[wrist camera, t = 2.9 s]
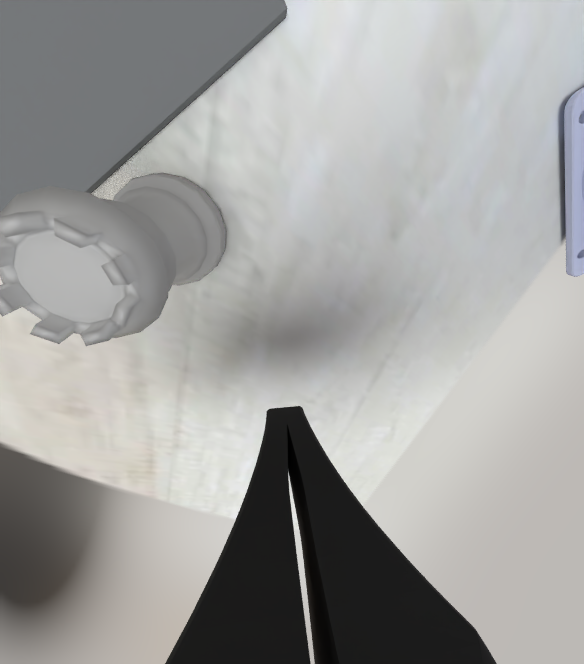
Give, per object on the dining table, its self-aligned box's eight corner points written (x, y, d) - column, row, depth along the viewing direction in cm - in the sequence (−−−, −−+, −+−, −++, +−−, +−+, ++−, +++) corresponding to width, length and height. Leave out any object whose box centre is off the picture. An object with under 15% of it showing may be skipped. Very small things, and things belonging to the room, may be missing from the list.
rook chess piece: (192, 294, 13) (119, 410, 6) (105, 233, 11) (-144, 298, 4) (246, 228, 12) (230, 279, 5) (159, 146, 10) (-72, 37, 3)
